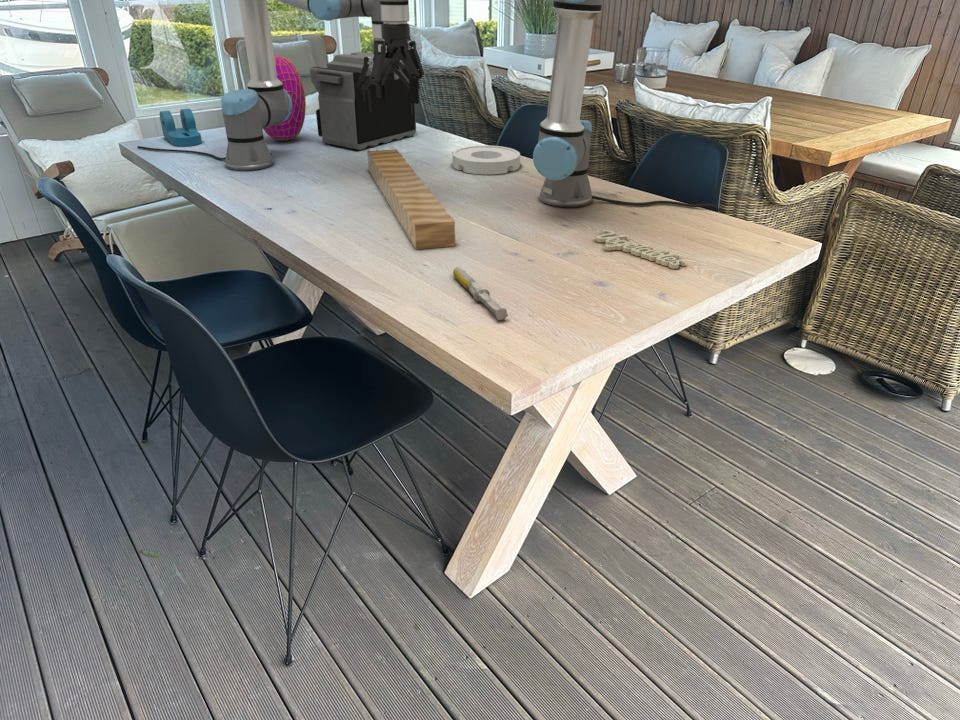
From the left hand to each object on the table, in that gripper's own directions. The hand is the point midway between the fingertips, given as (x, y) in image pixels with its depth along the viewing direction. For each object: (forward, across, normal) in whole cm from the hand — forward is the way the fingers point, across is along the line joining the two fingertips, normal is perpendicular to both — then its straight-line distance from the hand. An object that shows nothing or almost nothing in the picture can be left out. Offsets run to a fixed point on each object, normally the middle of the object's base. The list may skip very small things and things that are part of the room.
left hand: (390, 112), depth 219 cm
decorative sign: (+20, -76, +60) cm, 99 cm away
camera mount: (+18, +88, -28) cm, 94 cm away
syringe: (+20, -41, +92) cm, 103 cm away
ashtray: (+19, -29, -13) cm, 37 cm away
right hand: (-6, -10, +25) cm, 28 cm away
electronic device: (+18, +21, -43) cm, 51 cm away
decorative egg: (+18, +52, -36) cm, 66 cm away
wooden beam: (+19, -11, +32) cm, 39 cm away
